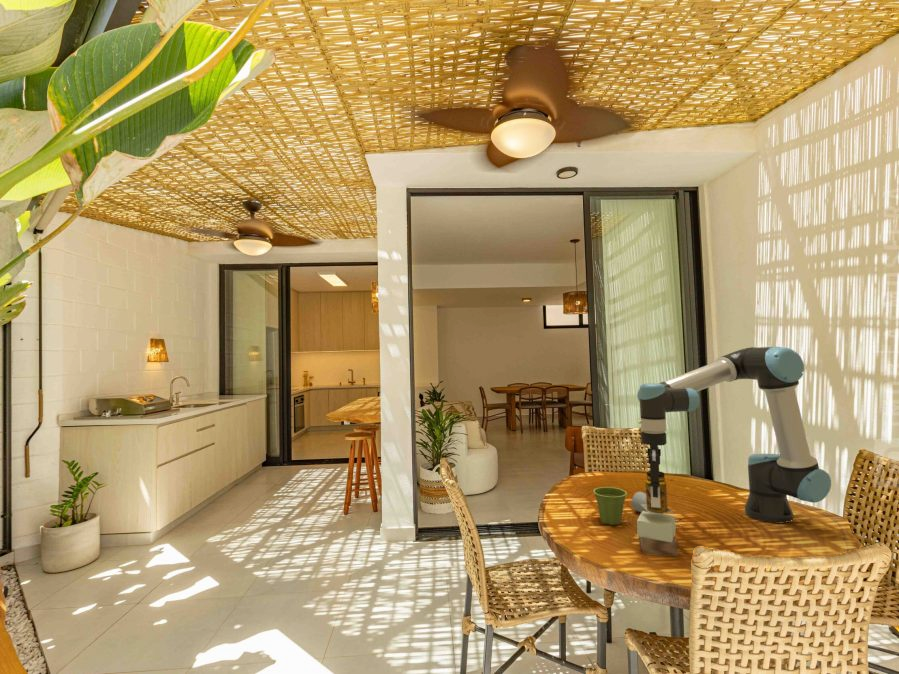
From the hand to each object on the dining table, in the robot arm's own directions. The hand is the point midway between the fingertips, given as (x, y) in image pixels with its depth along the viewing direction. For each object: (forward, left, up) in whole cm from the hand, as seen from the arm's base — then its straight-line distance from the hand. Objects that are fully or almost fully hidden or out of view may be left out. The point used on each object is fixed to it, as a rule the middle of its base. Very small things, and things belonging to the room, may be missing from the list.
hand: (655, 503), depth 152 cm
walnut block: (0, 0, -15) cm, 15 cm away
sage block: (0, 0, -10) cm, 10 cm away
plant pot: (+16, -19, -15) cm, 29 cm away
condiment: (0, -1, -2) cm, 2 cm away
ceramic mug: (+3, -34, -15) cm, 37 cm away
